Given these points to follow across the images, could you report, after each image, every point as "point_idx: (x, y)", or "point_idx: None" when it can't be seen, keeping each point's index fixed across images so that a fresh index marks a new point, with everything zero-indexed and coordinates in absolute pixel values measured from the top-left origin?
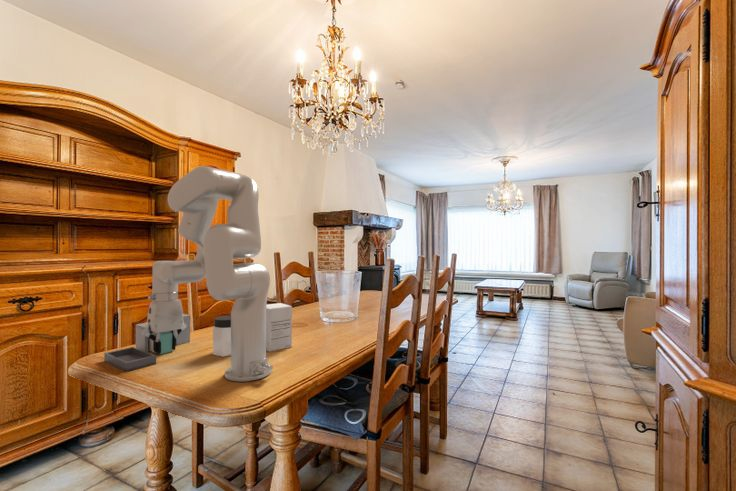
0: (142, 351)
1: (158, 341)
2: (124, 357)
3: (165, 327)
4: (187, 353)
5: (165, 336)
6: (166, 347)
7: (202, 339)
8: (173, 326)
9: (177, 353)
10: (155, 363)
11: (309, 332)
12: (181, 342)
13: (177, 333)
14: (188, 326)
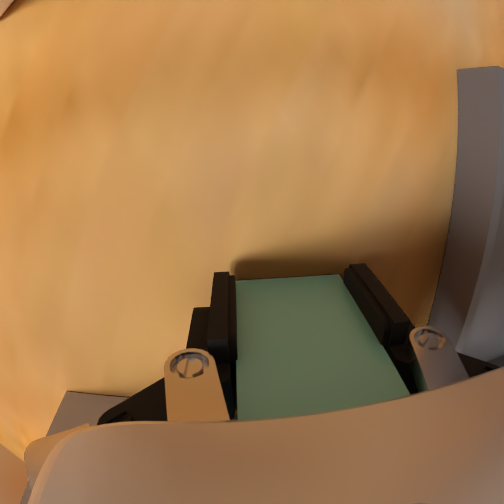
0: (484, 281)
1: (403, 338)
2: (481, 334)
3: (473, 444)
4: (167, 111)
5: (334, 385)
6: (294, 302)
7: (6, 372)
8: (289, 482)
9: (229, 187)
10: (463, 70)
11: None
12: (114, 403)
13: (168, 389)
14: None
